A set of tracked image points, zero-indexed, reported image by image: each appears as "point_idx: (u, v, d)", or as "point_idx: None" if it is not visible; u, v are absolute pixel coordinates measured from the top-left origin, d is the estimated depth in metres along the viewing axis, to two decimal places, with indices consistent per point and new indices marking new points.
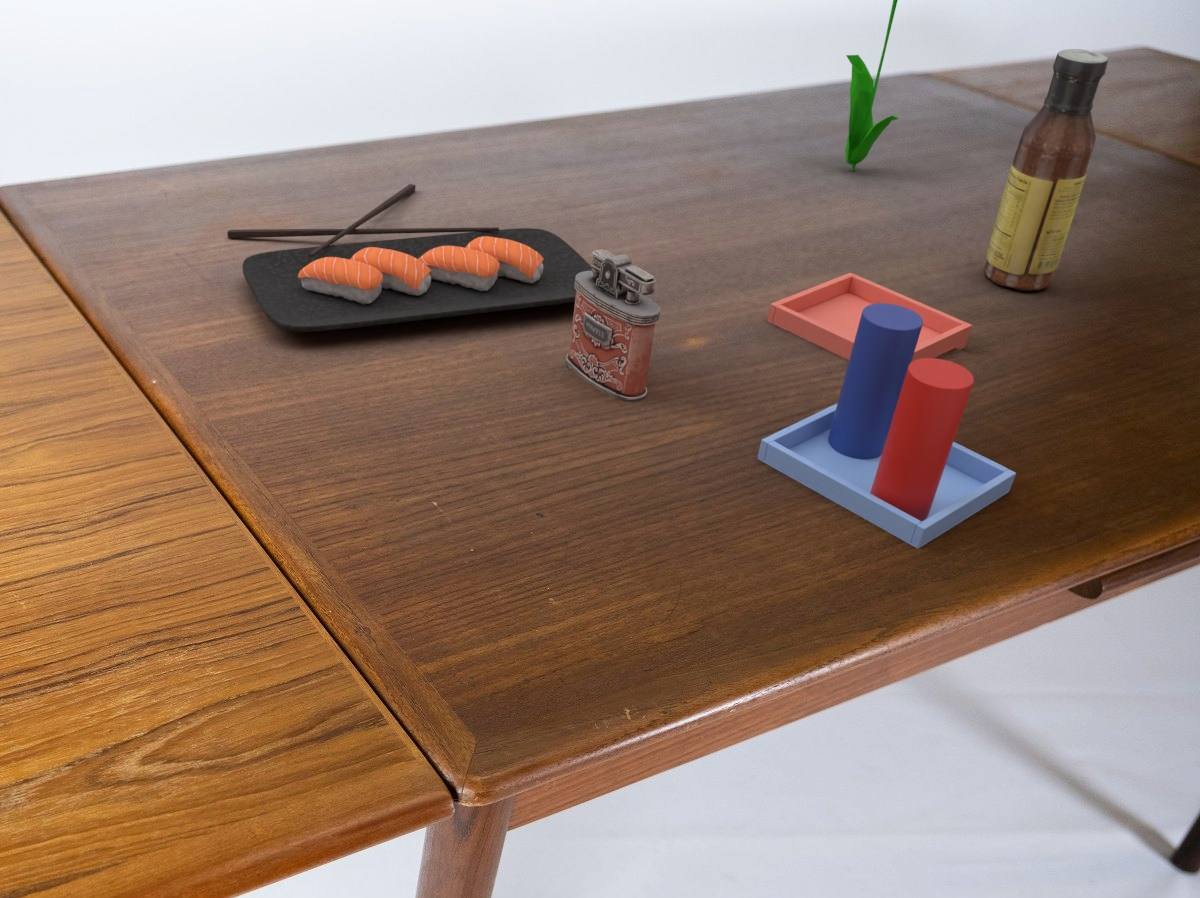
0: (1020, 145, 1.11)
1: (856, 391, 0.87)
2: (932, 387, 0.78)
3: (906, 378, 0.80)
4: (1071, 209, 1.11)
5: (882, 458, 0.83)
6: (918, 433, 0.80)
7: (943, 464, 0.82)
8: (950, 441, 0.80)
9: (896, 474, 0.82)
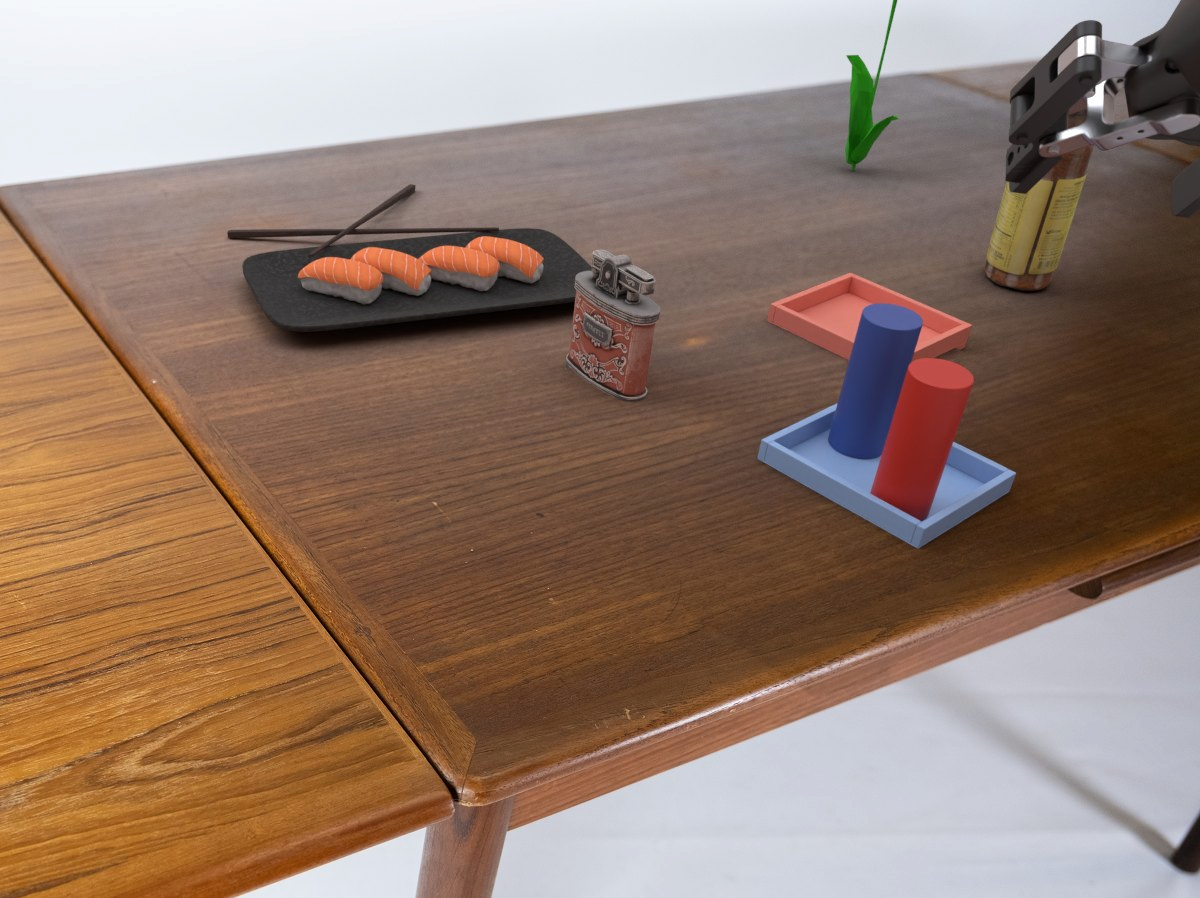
0: None
1: (856, 391, 0.87)
2: (932, 387, 0.78)
3: (906, 378, 0.80)
4: (1071, 209, 1.11)
5: (882, 458, 0.83)
6: (918, 433, 0.80)
7: (943, 464, 0.82)
8: (950, 441, 0.80)
9: (896, 474, 0.82)
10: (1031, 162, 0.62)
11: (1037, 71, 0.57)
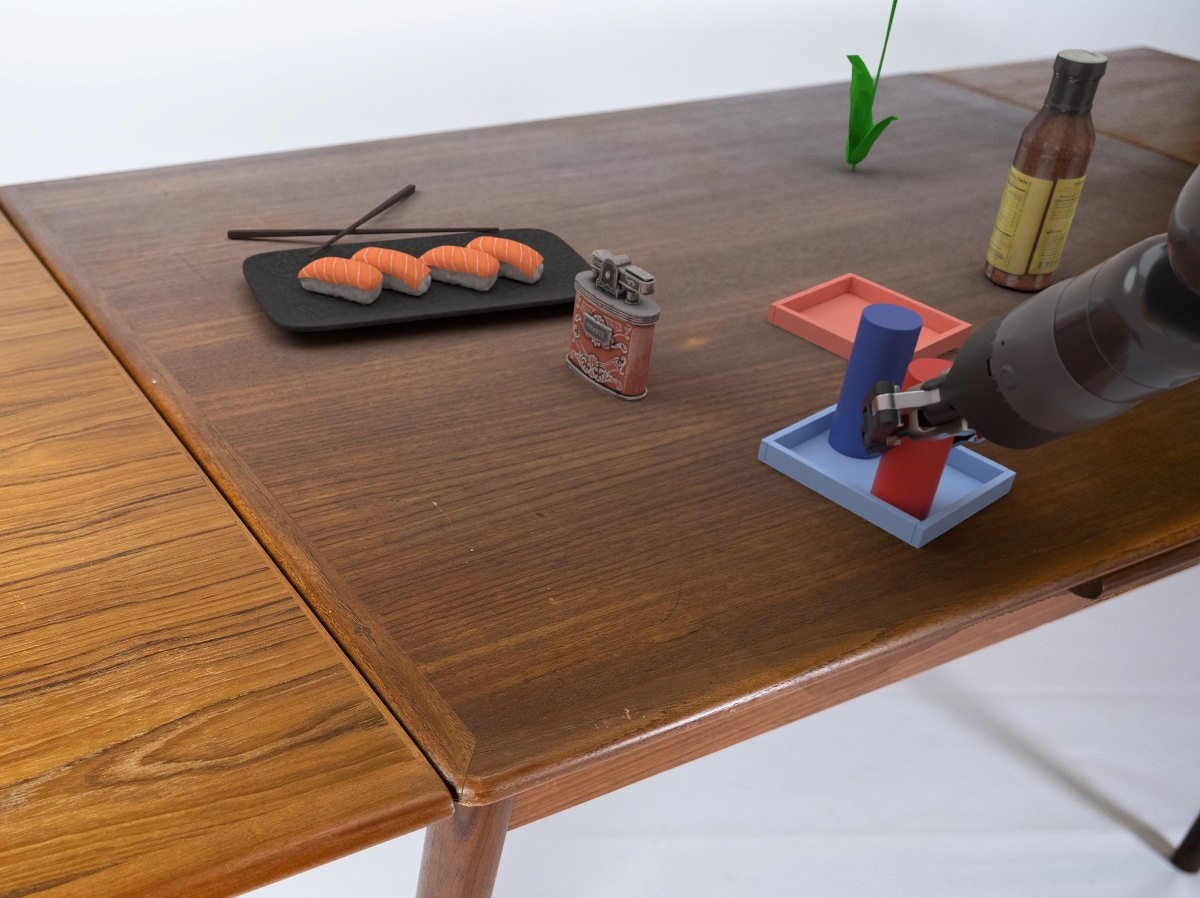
0: (1020, 145, 1.11)
1: (856, 391, 0.87)
2: None
3: (906, 378, 0.80)
4: (1071, 209, 1.11)
5: (882, 458, 0.83)
6: None
7: (943, 464, 0.82)
8: (950, 441, 0.80)
9: (896, 474, 0.82)
10: (881, 442, 0.81)
11: (866, 403, 0.77)
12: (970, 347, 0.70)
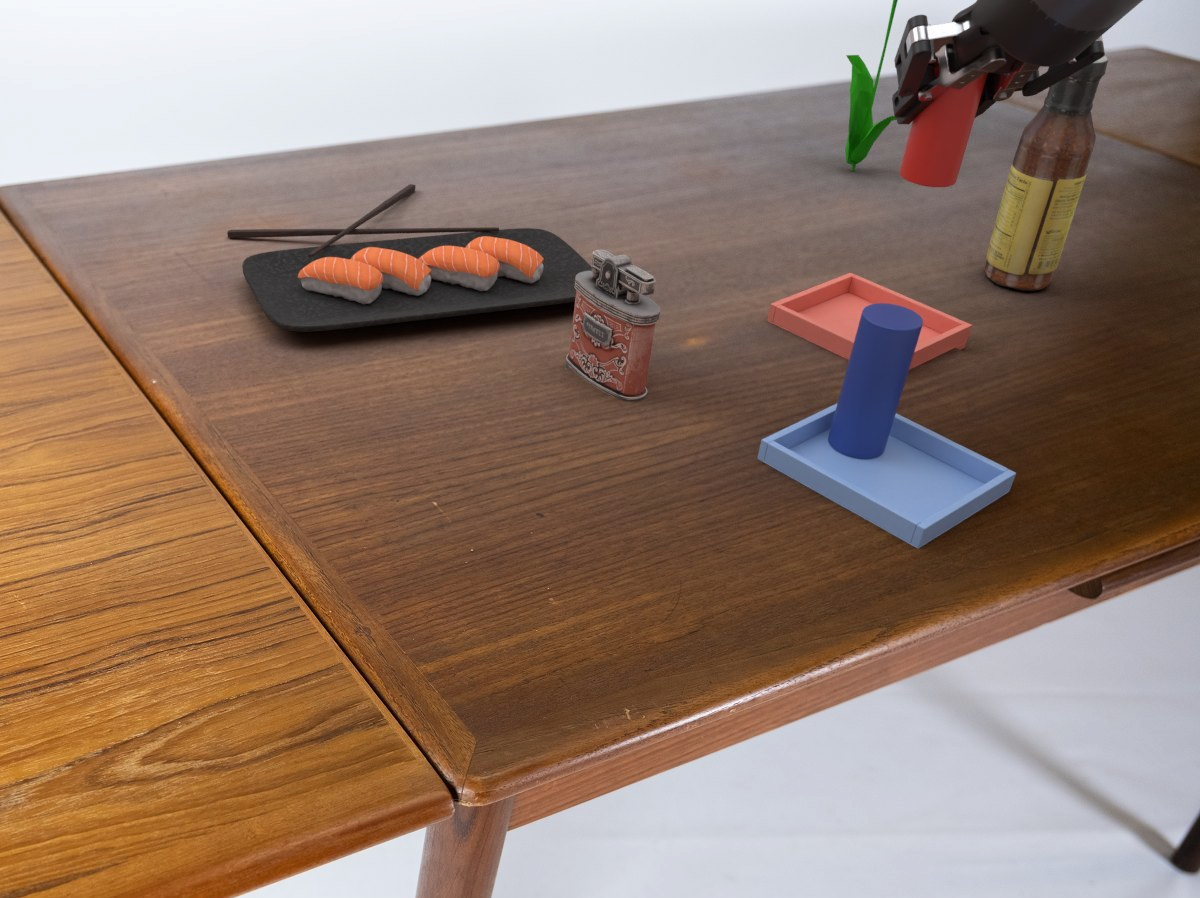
0: (1020, 145, 1.11)
1: (856, 391, 0.87)
2: None
3: None
4: (1071, 209, 1.11)
5: (913, 125, 0.90)
6: None
7: (970, 124, 0.88)
8: (977, 98, 0.87)
9: (926, 136, 0.89)
10: (912, 104, 0.88)
11: (900, 49, 0.83)
12: None
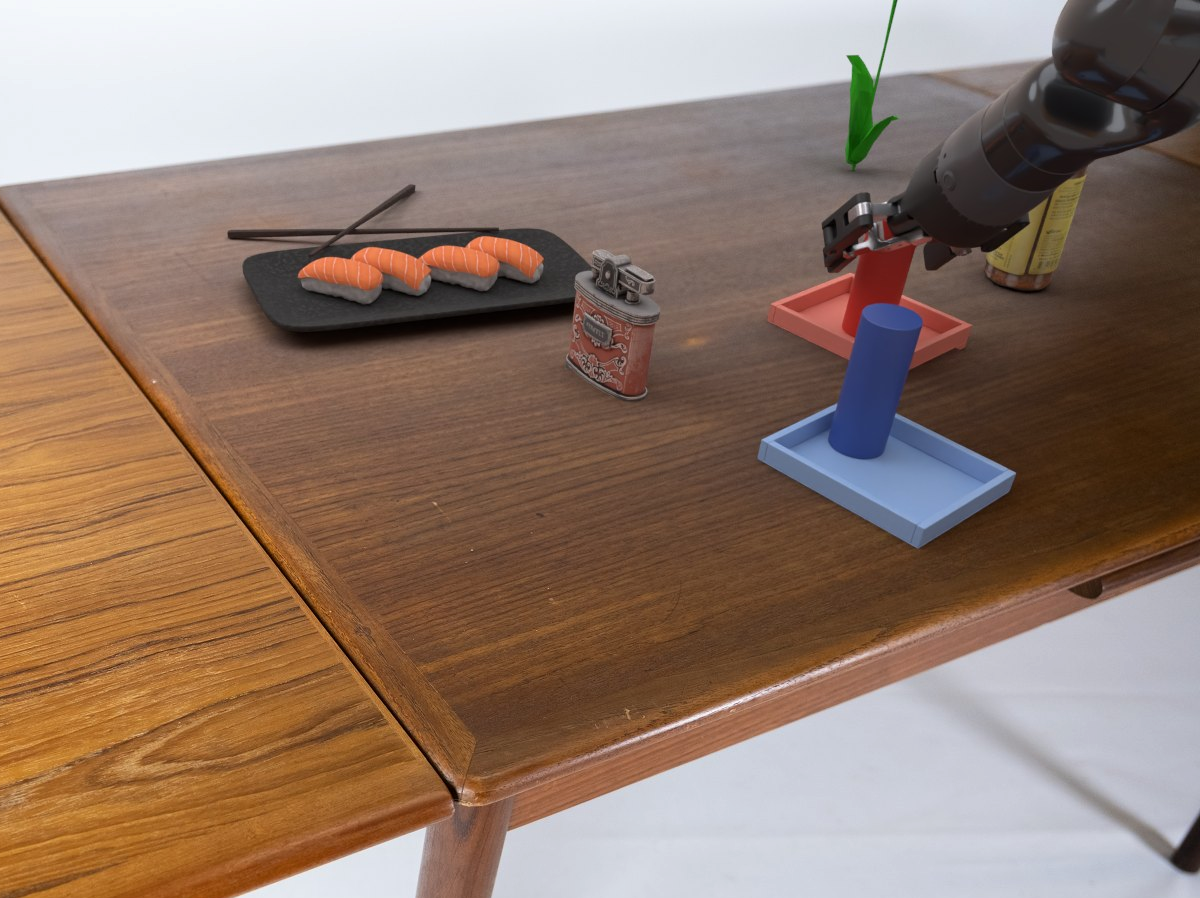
0: None
1: (856, 391, 0.87)
2: None
3: None
4: (1071, 209, 1.11)
5: (852, 288, 1.04)
6: (879, 263, 1.01)
7: (900, 290, 1.02)
8: (905, 270, 1.01)
9: (863, 299, 1.03)
10: (839, 258, 1.00)
11: (836, 216, 0.95)
12: (922, 165, 0.90)
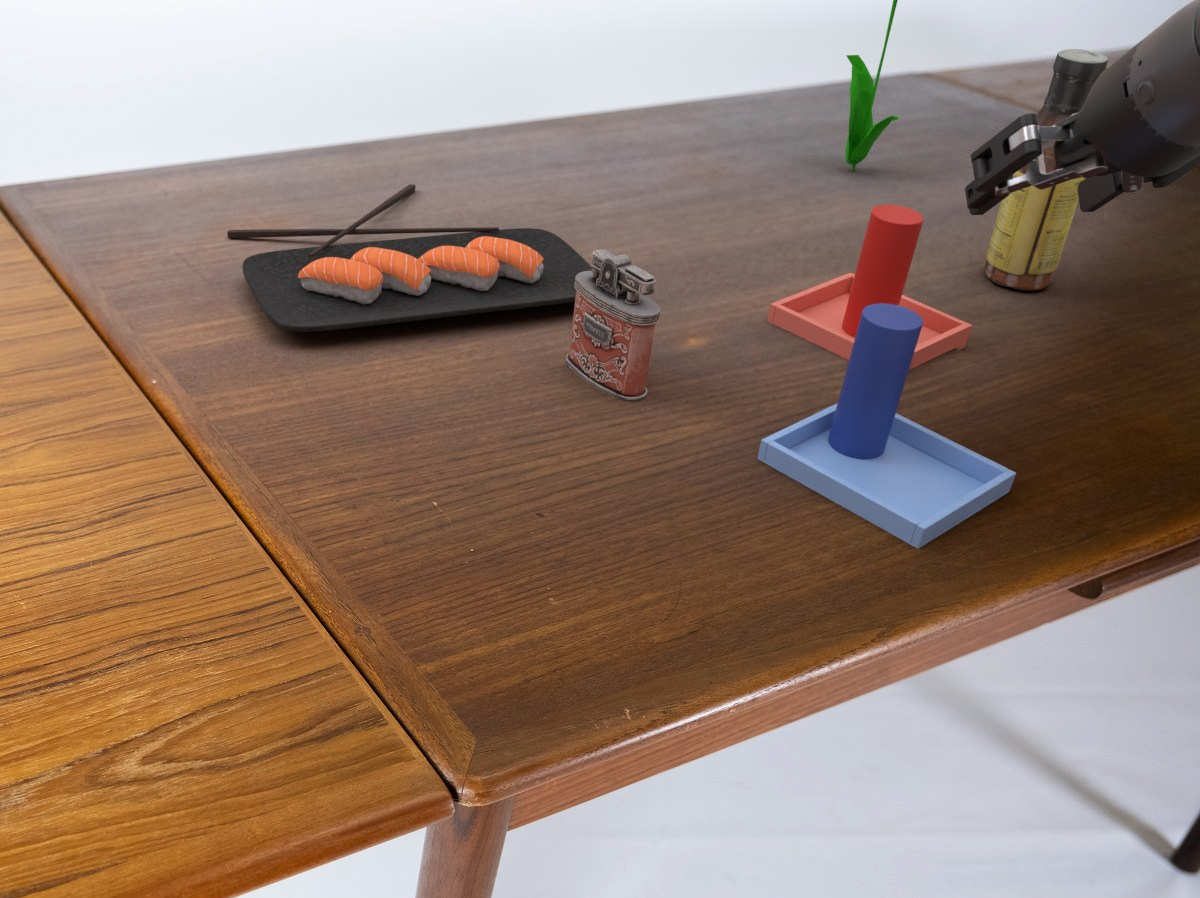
0: None
1: (856, 391, 0.87)
2: (889, 223, 0.99)
3: (870, 219, 1.00)
4: (1071, 209, 1.11)
5: (852, 288, 1.04)
6: (879, 263, 1.01)
7: (900, 290, 1.02)
8: (905, 270, 1.01)
9: (863, 299, 1.03)
10: (987, 196, 0.86)
11: (992, 144, 0.82)
12: (1104, 79, 0.76)
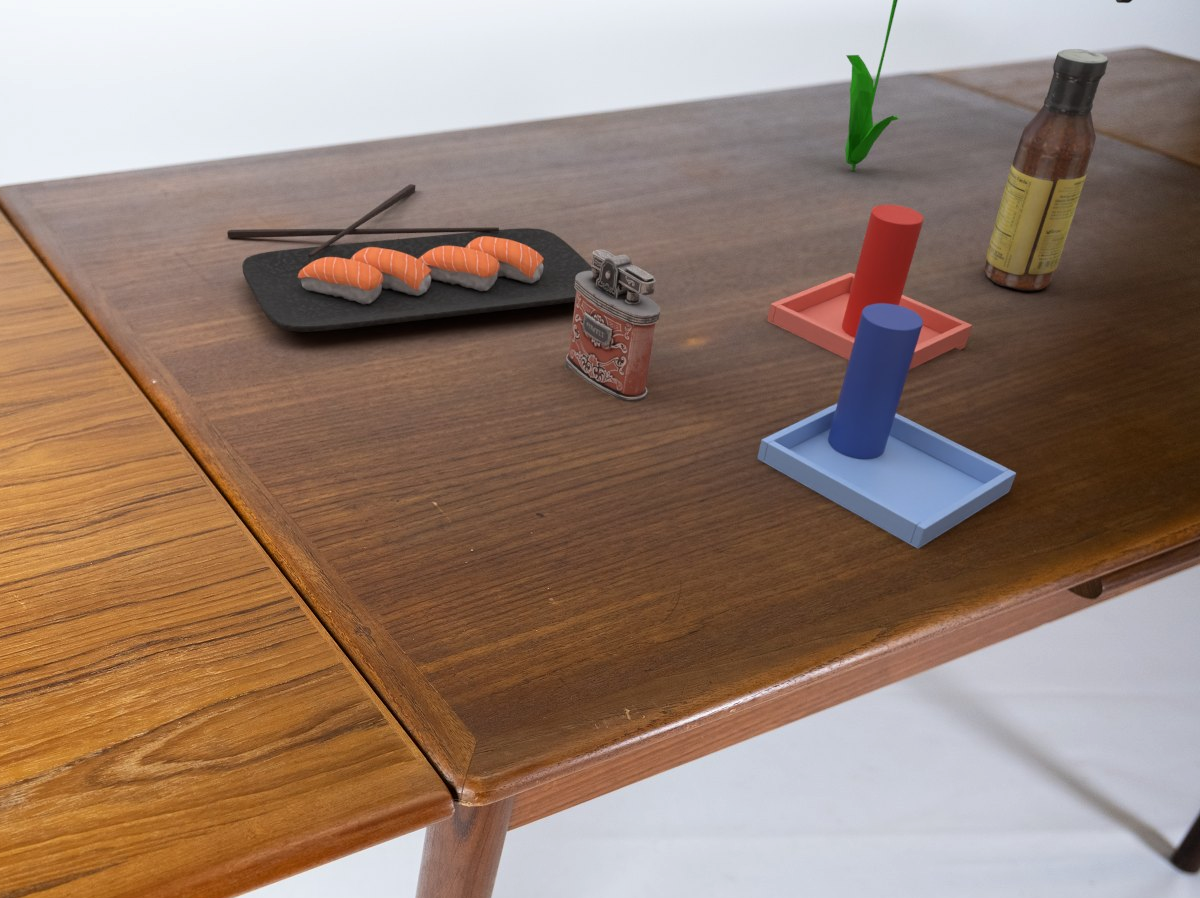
0: (1020, 145, 1.11)
1: (856, 391, 0.87)
2: (889, 223, 0.99)
3: (870, 219, 1.00)
4: (1071, 209, 1.11)
5: (852, 288, 1.04)
6: (879, 263, 1.01)
7: (900, 290, 1.02)
8: (905, 270, 1.01)
9: (863, 299, 1.03)
10: None
11: None
12: None
